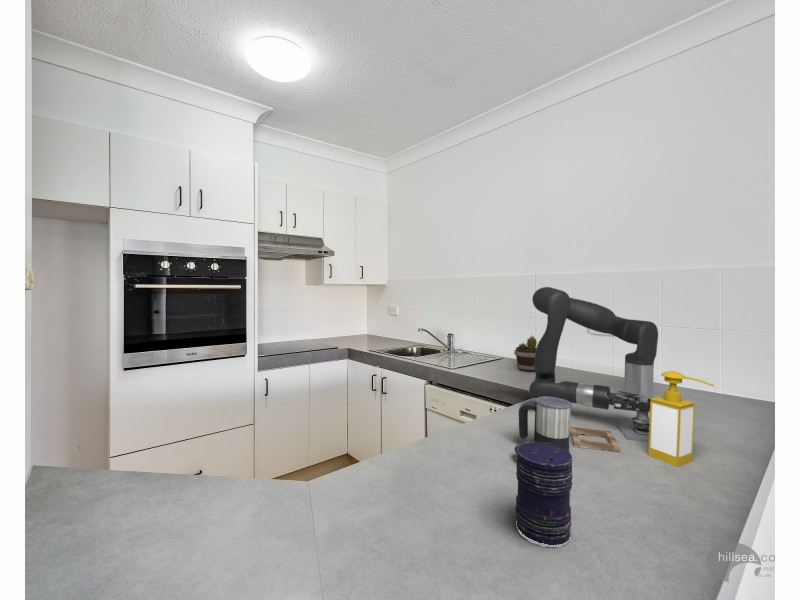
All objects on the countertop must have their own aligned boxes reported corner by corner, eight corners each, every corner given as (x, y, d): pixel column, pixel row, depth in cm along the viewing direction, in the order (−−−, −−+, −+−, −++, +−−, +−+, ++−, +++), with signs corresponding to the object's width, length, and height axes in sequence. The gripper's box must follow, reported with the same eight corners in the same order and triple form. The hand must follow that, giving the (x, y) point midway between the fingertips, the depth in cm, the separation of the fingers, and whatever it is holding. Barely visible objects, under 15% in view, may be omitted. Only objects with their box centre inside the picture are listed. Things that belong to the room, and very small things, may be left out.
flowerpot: (509, 367, 212) (509, 331, 211) (535, 366, 213) (535, 331, 213) (520, 373, 197) (520, 335, 196) (547, 372, 199) (548, 335, 198)
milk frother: (569, 450, 106) (570, 398, 105) (574, 477, 91) (576, 417, 90) (516, 442, 110) (517, 392, 110) (513, 467, 96) (514, 409, 95)
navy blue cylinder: (507, 515, 76) (508, 442, 75) (554, 513, 76) (556, 441, 76) (528, 550, 66) (530, 466, 65) (581, 547, 67) (584, 464, 66)
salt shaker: (658, 435, 115) (658, 396, 114) (638, 435, 115) (638, 396, 115) (646, 428, 120) (646, 391, 120) (627, 428, 121) (627, 391, 120)
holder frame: (569, 431, 119) (569, 426, 119) (610, 436, 116) (610, 431, 116) (574, 446, 108) (574, 441, 108) (620, 452, 105) (620, 446, 104)
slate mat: (616, 424, 125) (616, 423, 125) (658, 429, 122) (658, 427, 121) (626, 439, 114) (626, 437, 114) (672, 444, 110) (673, 442, 110)
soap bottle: (702, 476, 92) (706, 380, 91) (648, 455, 103) (651, 369, 102) (717, 469, 95) (721, 377, 94) (663, 450, 106) (666, 367, 105)
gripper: (589, 389, 119) (654, 399, 110) (596, 380, 131) (655, 388, 121) (589, 412, 120) (653, 424, 110) (595, 401, 131) (654, 411, 122)
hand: (654, 405), depth 116 cm, fingers open, 5 cm apart
